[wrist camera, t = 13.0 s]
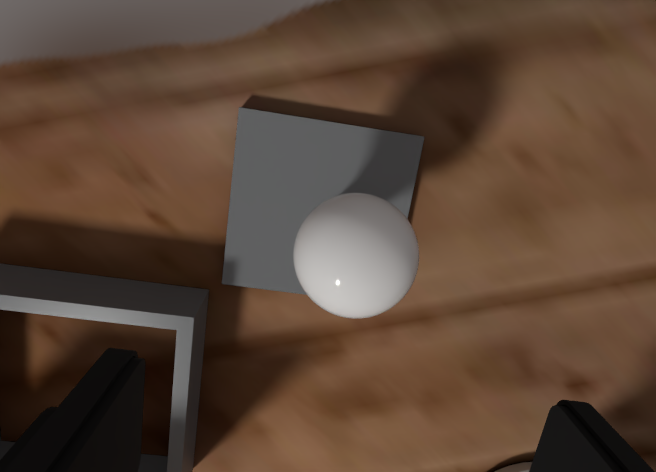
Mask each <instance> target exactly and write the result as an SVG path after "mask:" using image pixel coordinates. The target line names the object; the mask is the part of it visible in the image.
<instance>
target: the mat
mask: <svg viewBox="0 0 656 472" xmlns="http://www.w3.org/2000/svg"><path fill="white" fill-rule="evenodd" d="M423 142H424V137H423V136H418V135H412V134H405V133H399V132H393V131H387V130H380V129H374V128H368V127H362V126H355V125H349V124H343V123H336V122H330V121H324V120H318V119H311V118H305V117H299V116H293V115H286V114H280V113H274V112H268V111H261V110H255V109H249V108H242V107H239V113H238V123H237V133H236V143H235V154H234V164H233V174H232V184H231V194H230V205H229V215H228V225H227V235H226V246H225V256H224V266H223V276H222V284H227V285H235V286H243V287H250V288H258V289H266V290H274V291H282V292H290V293H298V294H306V293H305V291H304V290H303V288H302V286H301V285H300V283H299V280H298V278H297V275H296V272H295V268H294V262H293V249H294V243H295V239H296V235H297V233H298V230H299V228H300V226H301V224H302V223H303V221H304V220H305V218H306V217H307V216H308V214H309V213H310V212H311V211H312V210H313V209H314V208H315V207H317V206H318V205H319V204H321V203H322V202H324V201H326V200H327V199H330V198H332V197H334V196H337V195H341V194H346V193H366V194H371V195H375V196H378V197H380V198H382V199H385V200H386V201H388V202H390V203H391V204H393V205H394V206H395V207H397V208H398V209H399V210H400V211H401V212H402V213H403V214H404V215H405V217H406V218H408V213H409V209H410V204H411V199H412V194H413V190H414V185H415V180H416V175H417V171H418V166H419V161H420V156H421V152H422V147H423ZM306 295H307V294H306Z"/></svg>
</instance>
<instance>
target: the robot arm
mask: <svg viewBox="0 0 656 472" xmlns="http://www.w3.org/2000/svg"><path fill="white" fill-rule="evenodd" d="M144 382H145V359H142V358H138V355H137V352H136V351H133V350H124V349H115V348H108V349H107V350H106V351H105V352H104V353H103V354H102V356H101V357H100V358H99V359H98V360H97V361H96V363H95V364H94V365H93V366H92V367H91V369H90V370H89V371H88V372H87V373H86V375H85V376H84V377H83V378H82V379H81V380H80V382H79V383H78V384H77V385H76V386H75V388H74V389H73V390H72V391H71V392H70V394H69V395H68V396H67V397H66V398H65V399H64V401H63V402H62V403H61V404H60V405H59V407H50V408H47V409H46V410H45V411H43V412H42V413H41V414H40V415H39V416H38V418H37V419H36V420H35V421H34V422H33V423H32V424H31V426H30V427H29V428H28V429H27V430H26V431H25V432H24V433H23V435H22V436H21V437H20V438H19V439H18V440H17V441H16V443H15V444H14V445H13V446H12V447H11V448H10V449H9V451H8V452H7V453H6V454H5V455H4V456H3V457H2V458H1V460H0V472H138V470H139V465H140V458H141V439H142V420H143V401H144ZM494 472H654V471H653V470H652V469H651V468H650V467H649V465H648V464H647V463H646V462H645V461H644V460H643V459H642V458H641V457H640V456H639V455H638V454H637V453H636V452H635V451H634V450H633V449H632V448H631V447H630V445H629V444H628V443H627V442H626V441H625V440H624V439H623V438H622V437H621V436H620V435H619V434H618V433H617V432H616V431H615V430H614V429H613V428H612V427H611V425H610V424H609V423H608V422H607V421H606V420H605V419H604V418H603V417H602V416H601V415H600V414H599V413H598V412H597V411H596V410H595V409H594V408H593V407H592V406H591V405H590V404H589V403H586V402H578V401H569V400H561V401H559V402H558V403H557V405H555V406H552V407H551V409H550V411H549V414H548V417H547V420H546V423H545V426H544V429H543V432H542V435H541V438H540V441H539V444H538V447H537V450H536V453H535V456H534V459H533V462H523V463H519V464H514V465H509V466H507V467H504V468H502V469H499V470H496V471H494Z"/></svg>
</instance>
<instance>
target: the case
mask: <svg viewBox="0 0 656 472" xmlns="http://www.w3.org/2000/svg"><path fill="white" fill-rule="evenodd" d="M208 297H209V290H208V289H200V288H192V287H184V286H176V285H168V284H160V283H152V282H144V281H136V280H128V279H120V278H112V277H104V276H96V275H88V274H80V273H72V272H64V271H56V270H48V269H40V268H32V267H24V266H16V265H8V264H0V310H9V311H17V312H26V313H34V314H43V315H52V316H60V317H69V318H77V319H86V320H94V321H103V322H112V323H120V324H129V325H137V326H146V327H154V328H163V329H172V330H177V335H176V349H175V363H174V377H173V392H172V406H171V420H170V434H169V448H168V456H159V455H148V454H141V458H140V465H139V470H138V472H192V470H193V464H194V453H195V442H196V430H197V419H198V408H199V397H200V386H201V375H202V364H203V353H204V341H205V330H206V319H207V308H208ZM15 443H16V442H9V441H1V433H0V460H1V458H2V457H3V456H4V455H5V454H6V453H7V452H8V451H9V449H10V448H11V447H12V446H13V445H14V444H15Z"/></svg>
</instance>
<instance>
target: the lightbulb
mask: <svg viewBox="0 0 656 472" xmlns="http://www.w3.org/2000/svg"><path fill="white" fill-rule="evenodd" d="M293 262H294V268H295V272H296V275H297V278H298V280H299V283H300V285H301V286H302V288H303V290H304V291H305V293H306V294H307V295H308V296H309V298H310V299H311V300H312V301H313V302H314V303H316V304H317V305H318V306H319V307H321V308H322V309H324V310H326V311H328V312H330V313H332V314H334V315H337V316H341V317H345V318H355V319H358V318H368V317H372V316H376V315H378V314H381V313H383V312H385V311H387V310H389V309H390V308H392V307H393V306H395V305H396V304H397V303H398V302H399V301H400V300H401V299H402V298H403V297H404V296H405V295H406V294H407V292H408V291H409V289H410V288H411V286H412V284H413V282H414V280H415V277H416V274H417V270H418V265H419V247H418V241H417V238H416V235H415V232H414V230H413V228H412V226H411V224H410V222H409V221H408V219H407V218H406V217H405V215H404V214H403V213H402V212H401V211H400V210H399V209H398V208H397V207H395V206H394V205H393V204H391V203H390V202H388V201H386V200H385V199H382V198H380V197H378V196H375V195H371V194H366V193H346V194H341V195H337V196H334V197H332V198H330V199H327V200H326V201H324V202H322V203H321V204H319V205H318V206H317V207H315V208H314V209H313V210H312V211H311V212H310V213H309V214H308V216H307V217H306V218H305V220H304V221H303V223H302V224H301V226H300V228H299V230H298V233H297V235H296V239H295V243H294V249H293Z"/></svg>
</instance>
